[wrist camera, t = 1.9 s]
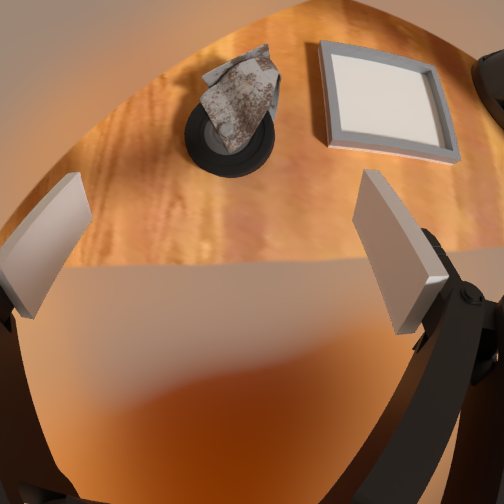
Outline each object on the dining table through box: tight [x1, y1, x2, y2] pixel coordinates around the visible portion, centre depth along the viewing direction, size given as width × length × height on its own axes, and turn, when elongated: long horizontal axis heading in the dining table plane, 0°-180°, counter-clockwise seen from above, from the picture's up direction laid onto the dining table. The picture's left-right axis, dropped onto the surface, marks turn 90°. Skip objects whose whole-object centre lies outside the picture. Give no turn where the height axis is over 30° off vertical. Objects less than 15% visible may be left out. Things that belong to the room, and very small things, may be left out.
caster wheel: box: [185, 44, 281, 178], centre depth 26 cm, size 7×11×10 cm
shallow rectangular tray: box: [318, 40, 461, 166], centre depth 28 cm, size 16×14×2 cm
